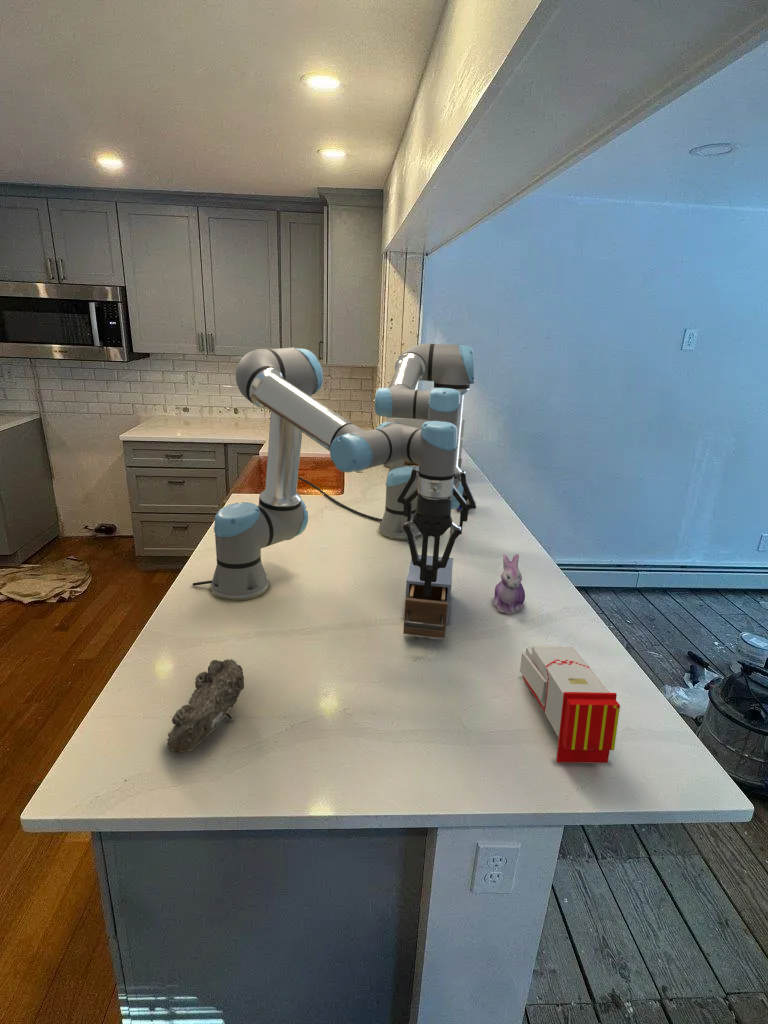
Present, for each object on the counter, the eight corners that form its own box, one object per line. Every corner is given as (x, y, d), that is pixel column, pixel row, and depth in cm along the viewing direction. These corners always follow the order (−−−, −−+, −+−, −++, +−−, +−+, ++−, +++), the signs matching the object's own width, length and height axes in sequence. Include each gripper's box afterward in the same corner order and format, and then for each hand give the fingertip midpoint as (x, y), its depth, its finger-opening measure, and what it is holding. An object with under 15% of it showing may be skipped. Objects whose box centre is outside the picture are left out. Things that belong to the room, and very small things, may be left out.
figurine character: (470, 516, 223) (465, 500, 237) (473, 499, 220) (467, 484, 233) (453, 516, 223) (449, 500, 236) (455, 498, 220) (451, 483, 233)
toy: (568, 628, 125) (630, 701, 96) (562, 684, 128) (620, 770, 99) (514, 627, 125) (559, 699, 96) (509, 683, 128) (551, 770, 98)
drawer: (443, 652, 130) (446, 617, 127) (400, 647, 131) (402, 612, 128) (446, 607, 150) (449, 575, 147) (409, 603, 151) (411, 572, 148)
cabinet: (447, 624, 144) (451, 584, 140) (404, 619, 145) (406, 580, 141) (449, 593, 159) (453, 557, 155) (410, 589, 160) (412, 554, 157)
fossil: (192, 660, 117) (244, 628, 112) (224, 691, 120) (276, 661, 115) (142, 746, 98) (202, 712, 93) (182, 779, 101) (242, 748, 96)
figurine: (507, 618, 147) (514, 566, 142) (483, 600, 156) (489, 550, 151) (534, 611, 152) (542, 560, 146) (510, 594, 160) (516, 545, 155)
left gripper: (402, 497, 118) (396, 598, 126) (465, 503, 117) (455, 604, 125) (406, 487, 125) (400, 583, 133) (465, 492, 124) (456, 588, 132)
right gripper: (389, 451, 140) (385, 531, 147) (491, 459, 137) (482, 539, 144) (392, 444, 147) (389, 521, 154) (490, 451, 144) (481, 529, 151)
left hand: (427, 593), depth 129 cm, fingers closed
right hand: (434, 530), depth 149 cm, fingers open, 13 cm apart
